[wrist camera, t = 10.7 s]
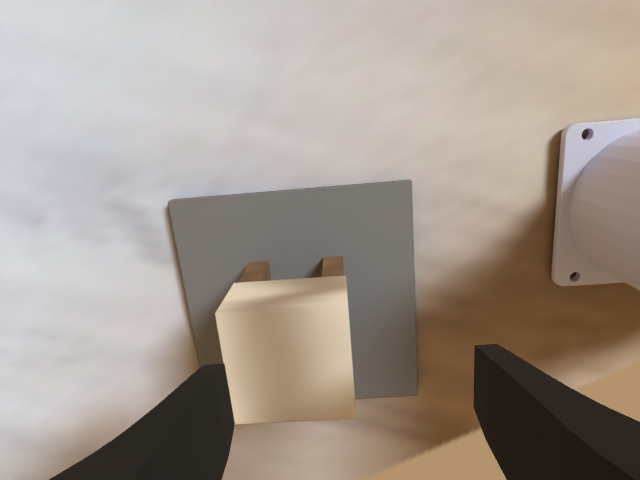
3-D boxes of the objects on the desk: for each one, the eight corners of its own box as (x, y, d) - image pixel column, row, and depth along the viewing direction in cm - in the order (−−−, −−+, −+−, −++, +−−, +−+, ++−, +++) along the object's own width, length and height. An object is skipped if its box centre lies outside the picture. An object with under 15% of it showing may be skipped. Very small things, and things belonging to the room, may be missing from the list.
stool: (344, 254, 21) (347, 305, 15) (351, 341, 23) (356, 418, 17) (247, 260, 21) (214, 313, 16) (259, 346, 23) (234, 424, 17)
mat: (409, 179, 21) (411, 181, 20) (415, 388, 24) (417, 395, 23) (172, 199, 21) (167, 201, 21) (210, 399, 25) (207, 406, 24)
